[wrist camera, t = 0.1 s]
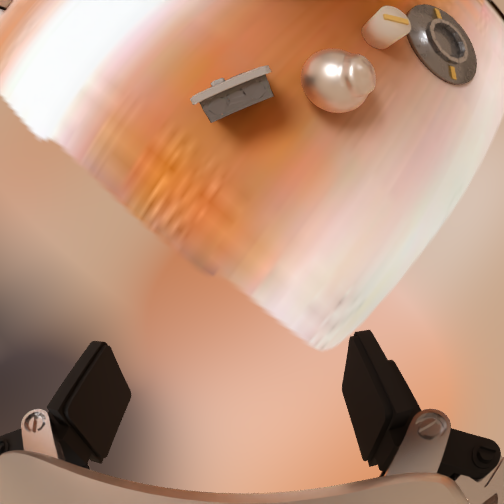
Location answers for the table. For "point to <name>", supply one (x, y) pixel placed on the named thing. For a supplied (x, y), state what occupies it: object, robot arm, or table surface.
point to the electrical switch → (234, 93)
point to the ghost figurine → (337, 80)
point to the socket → (441, 44)
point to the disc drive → (4, 4)
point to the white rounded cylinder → (386, 27)
